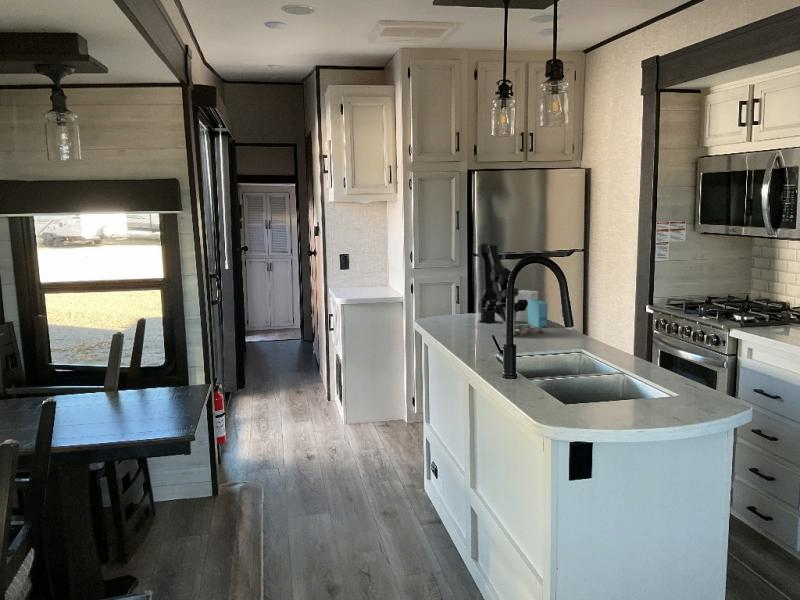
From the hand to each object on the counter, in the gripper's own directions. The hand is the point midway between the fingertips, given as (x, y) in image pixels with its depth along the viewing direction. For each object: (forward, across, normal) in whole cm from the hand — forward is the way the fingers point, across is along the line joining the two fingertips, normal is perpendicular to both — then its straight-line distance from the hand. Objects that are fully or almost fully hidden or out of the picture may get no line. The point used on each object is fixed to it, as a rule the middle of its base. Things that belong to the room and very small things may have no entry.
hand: (510, 320), depth 297 cm
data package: (-12, +21, +22) cm, 33 cm away
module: (+4, 0, +6) cm, 7 cm away
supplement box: (-22, +21, +32) cm, 44 cm away
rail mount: (0, +10, +10) cm, 14 cm away
